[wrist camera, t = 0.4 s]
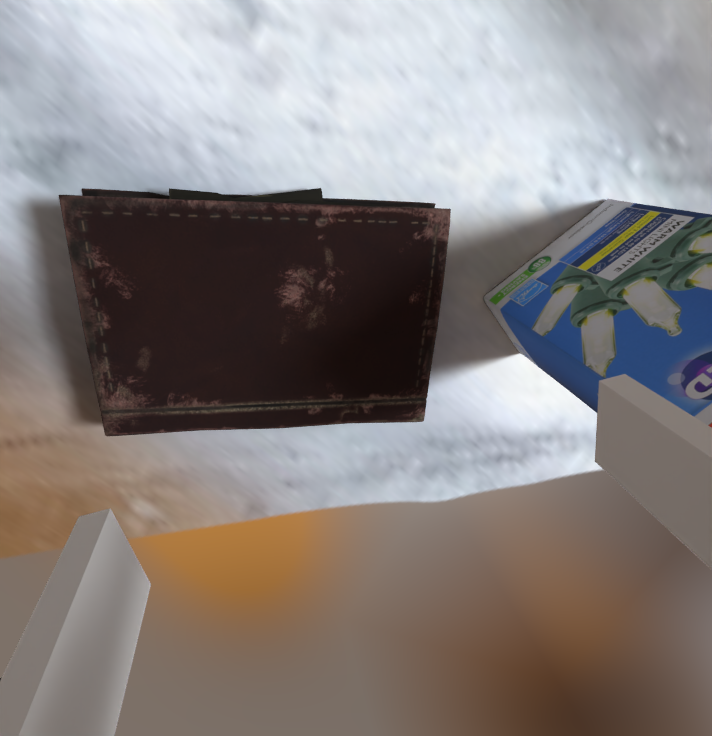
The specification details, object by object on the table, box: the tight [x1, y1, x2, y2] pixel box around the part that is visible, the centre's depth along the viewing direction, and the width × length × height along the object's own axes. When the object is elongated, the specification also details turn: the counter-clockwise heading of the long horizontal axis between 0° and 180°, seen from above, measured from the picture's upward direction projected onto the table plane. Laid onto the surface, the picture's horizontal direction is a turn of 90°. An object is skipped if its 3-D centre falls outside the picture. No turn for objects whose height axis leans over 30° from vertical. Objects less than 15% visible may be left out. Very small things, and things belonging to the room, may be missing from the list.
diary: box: [59, 188, 451, 436], centre depth 37 cm, size 19×25×5 cm
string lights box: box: [484, 199, 712, 428], centre depth 31 cm, size 13×8×26 cm, turn 129°
